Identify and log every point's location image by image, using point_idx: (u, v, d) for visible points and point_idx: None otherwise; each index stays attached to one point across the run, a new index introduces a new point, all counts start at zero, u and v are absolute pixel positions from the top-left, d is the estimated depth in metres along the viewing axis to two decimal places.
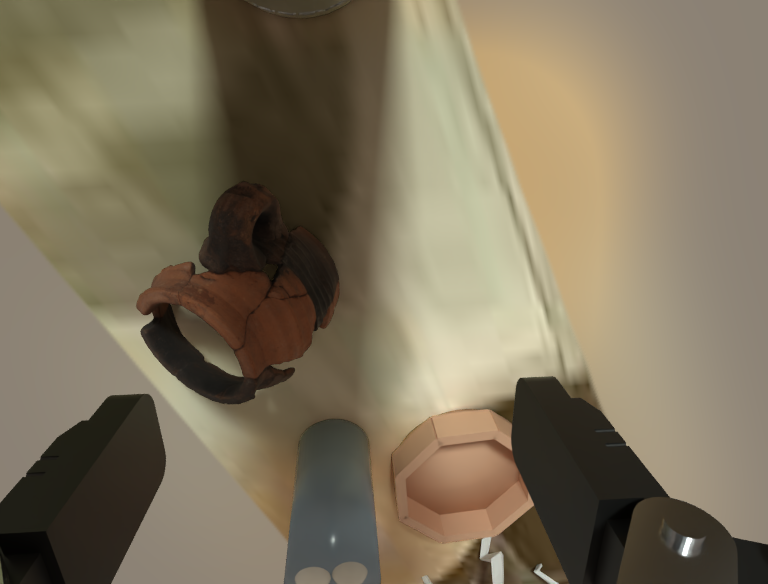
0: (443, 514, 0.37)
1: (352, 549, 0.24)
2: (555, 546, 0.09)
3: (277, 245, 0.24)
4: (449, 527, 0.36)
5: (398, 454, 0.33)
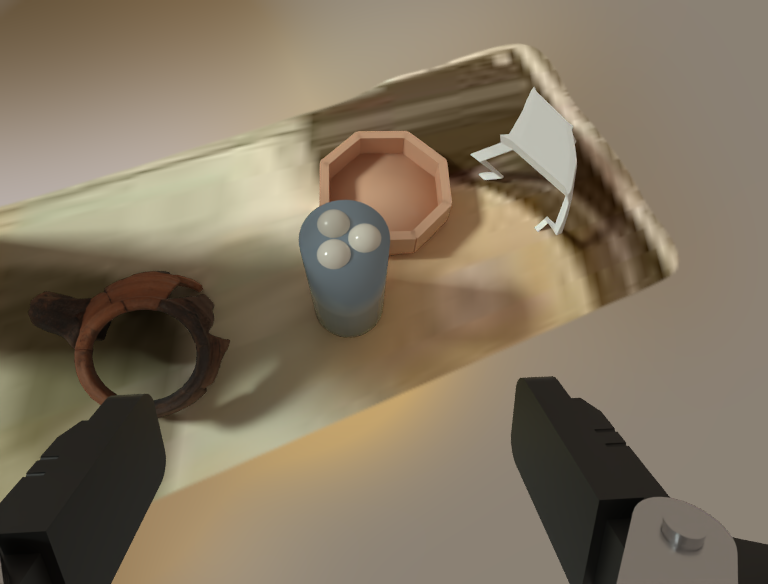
0: None
1: (306, 220, 0.27)
2: (555, 545, 0.09)
3: None
4: (440, 200, 0.37)
5: None
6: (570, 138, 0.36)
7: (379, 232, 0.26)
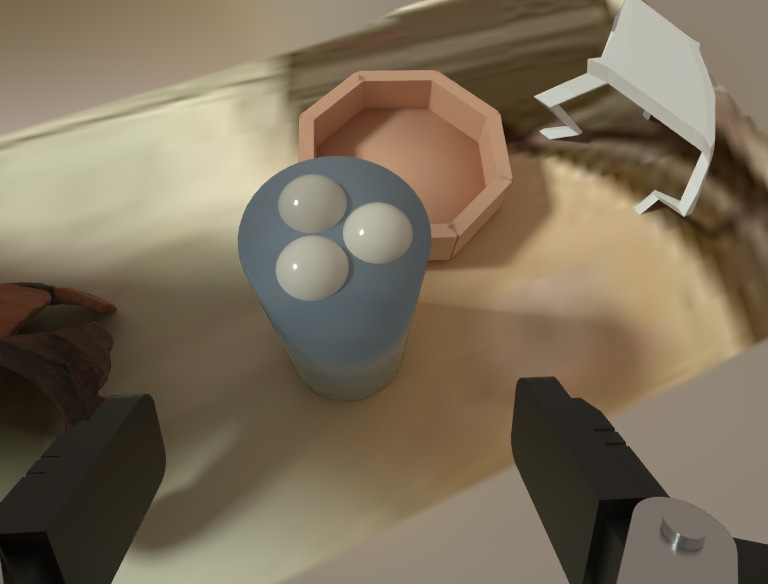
0: None
1: (255, 198, 0.13)
2: (555, 546, 0.09)
3: None
4: (492, 176, 0.23)
5: None
6: (699, 62, 0.23)
7: (408, 221, 0.13)
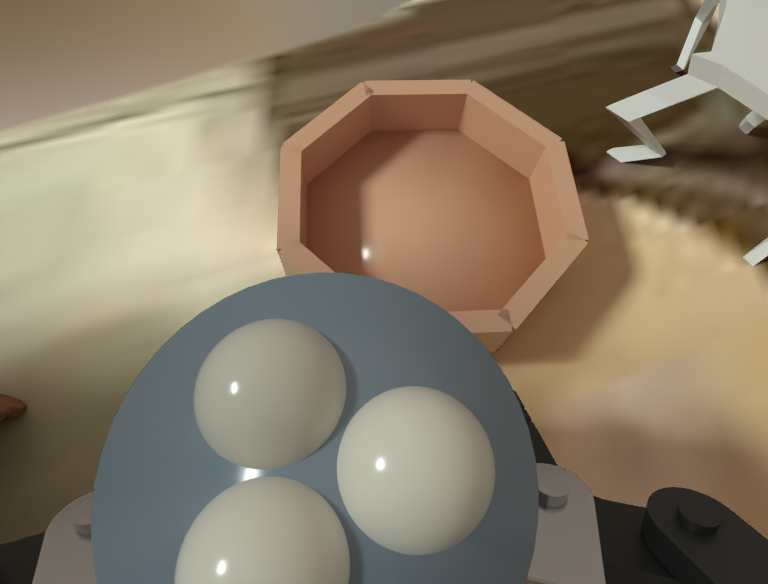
0: (544, 253, 0.17)
1: (148, 371, 0.06)
2: None
3: None
4: (555, 231, 0.16)
5: None
6: None
7: (485, 438, 0.06)
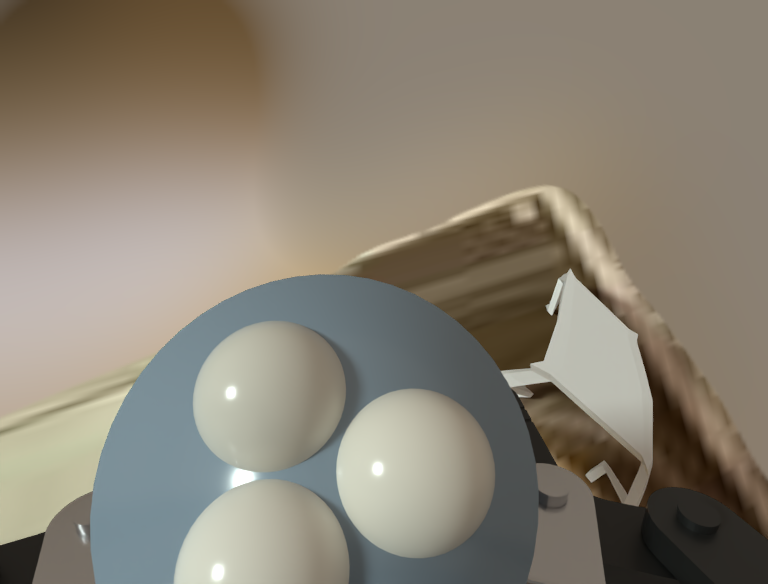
0: None
1: (148, 373, 0.06)
2: None
3: None
4: None
5: None
6: (637, 359, 0.24)
7: (485, 440, 0.06)
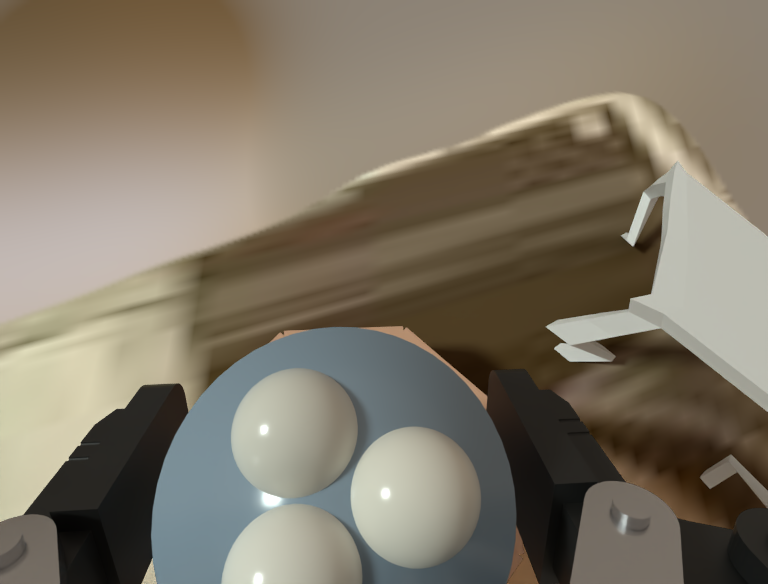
0: None
1: (192, 413, 0.07)
2: (520, 531, 0.09)
3: None
4: None
5: None
6: None
7: (473, 471, 0.07)
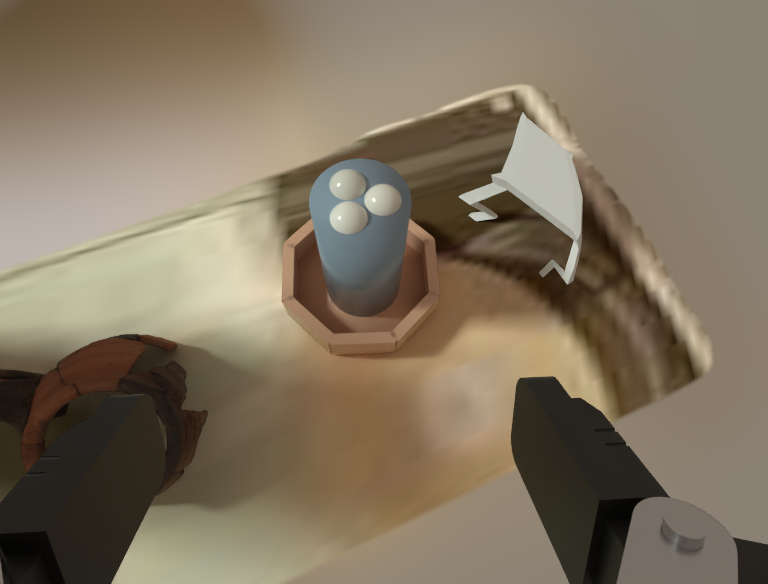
0: None
1: (316, 181, 0.24)
2: (555, 545, 0.09)
3: None
4: (427, 289, 0.31)
5: (323, 345, 0.31)
6: (572, 170, 0.32)
7: (399, 193, 0.24)
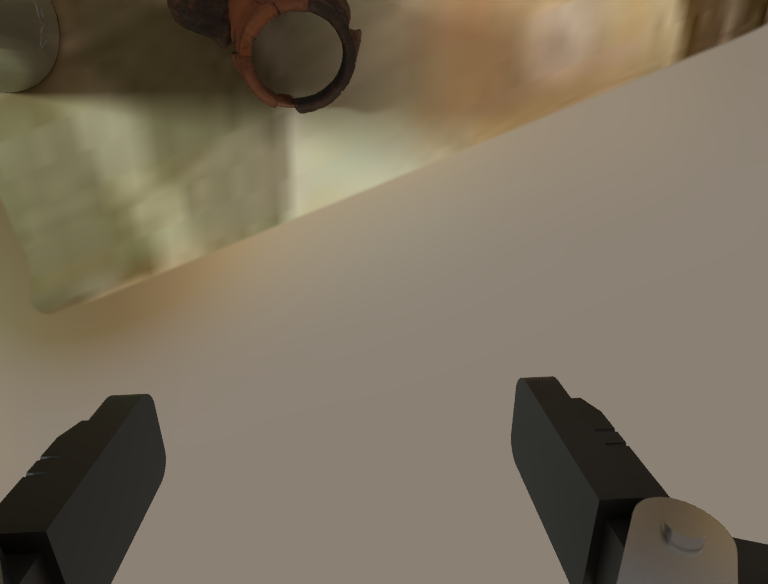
0: None
1: None
2: (554, 546, 0.09)
3: None
4: None
5: None
6: None
7: None
